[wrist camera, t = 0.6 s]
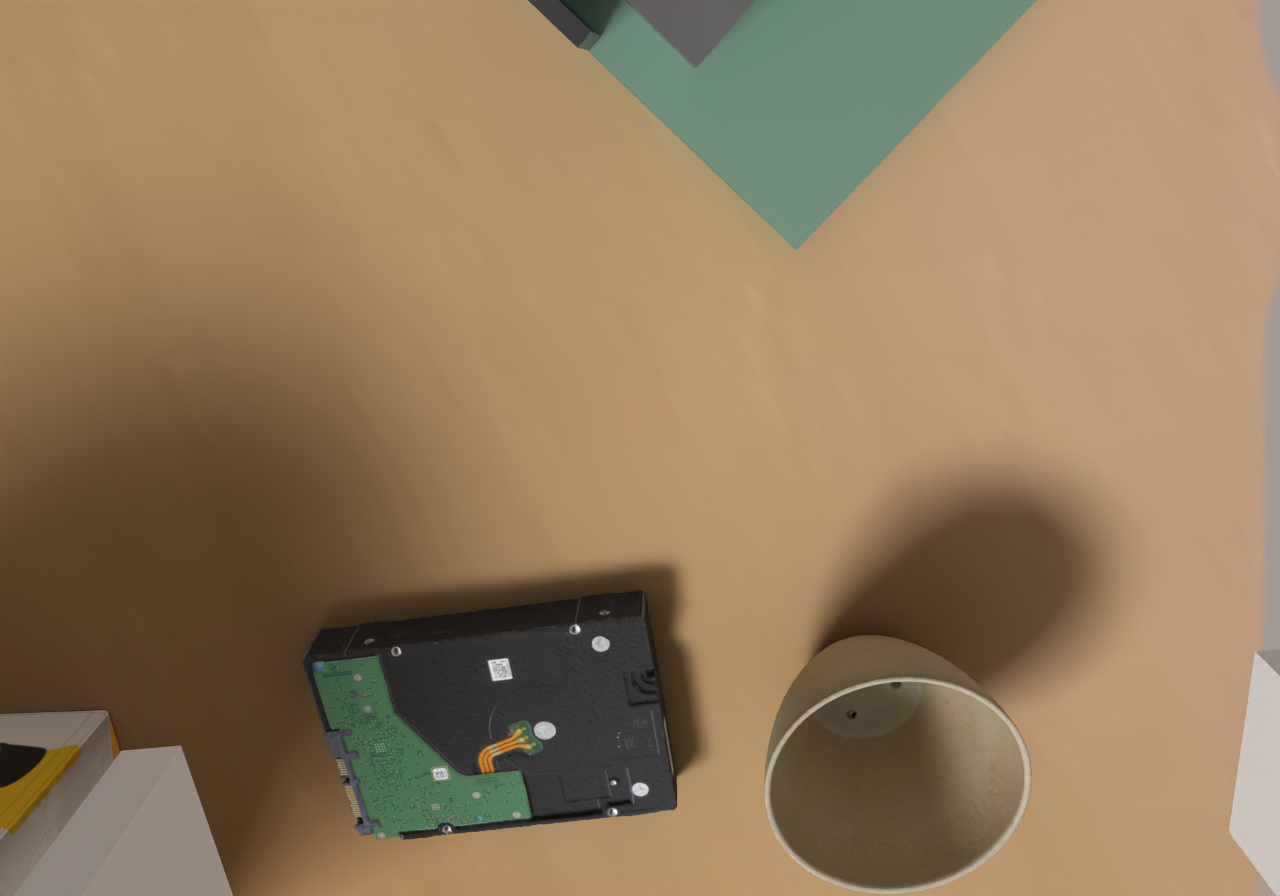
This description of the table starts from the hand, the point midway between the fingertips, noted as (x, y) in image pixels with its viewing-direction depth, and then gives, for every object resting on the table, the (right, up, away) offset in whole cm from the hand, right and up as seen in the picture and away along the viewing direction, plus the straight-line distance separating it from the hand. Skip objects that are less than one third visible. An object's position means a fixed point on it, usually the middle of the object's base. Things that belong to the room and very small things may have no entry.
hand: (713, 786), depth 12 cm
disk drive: (-7, -7, +33) cm, 35 cm away
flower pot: (+9, -6, +32) cm, 34 cm away
